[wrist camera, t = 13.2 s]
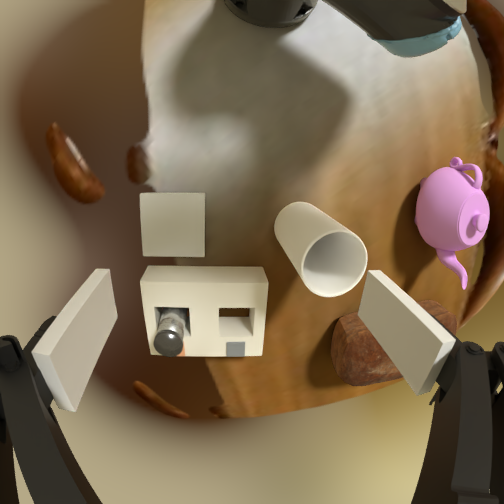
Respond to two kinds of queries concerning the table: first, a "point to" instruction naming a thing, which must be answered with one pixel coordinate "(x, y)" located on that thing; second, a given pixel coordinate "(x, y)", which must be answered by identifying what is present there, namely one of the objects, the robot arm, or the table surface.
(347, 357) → the bread
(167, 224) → the white flat square plate
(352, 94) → the table surface
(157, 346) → the plug
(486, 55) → the table surface
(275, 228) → the cup
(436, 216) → the teapot
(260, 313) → the socket block
